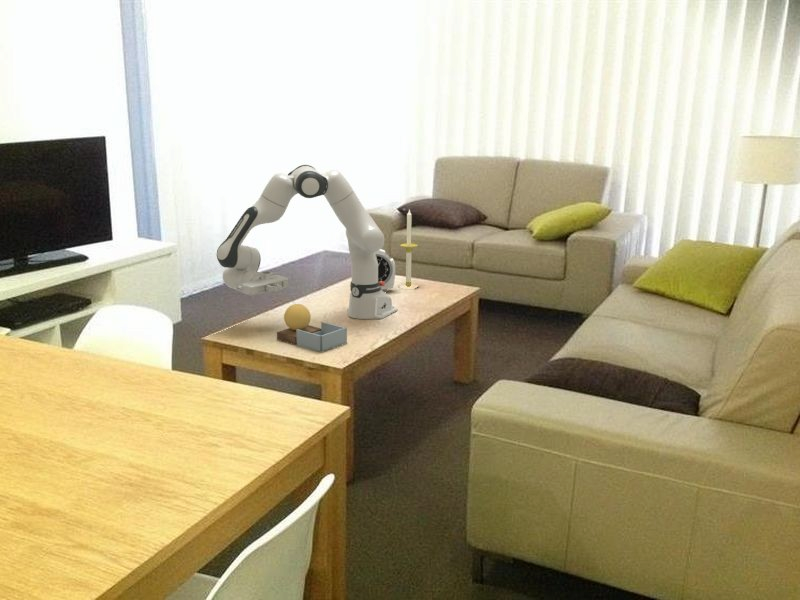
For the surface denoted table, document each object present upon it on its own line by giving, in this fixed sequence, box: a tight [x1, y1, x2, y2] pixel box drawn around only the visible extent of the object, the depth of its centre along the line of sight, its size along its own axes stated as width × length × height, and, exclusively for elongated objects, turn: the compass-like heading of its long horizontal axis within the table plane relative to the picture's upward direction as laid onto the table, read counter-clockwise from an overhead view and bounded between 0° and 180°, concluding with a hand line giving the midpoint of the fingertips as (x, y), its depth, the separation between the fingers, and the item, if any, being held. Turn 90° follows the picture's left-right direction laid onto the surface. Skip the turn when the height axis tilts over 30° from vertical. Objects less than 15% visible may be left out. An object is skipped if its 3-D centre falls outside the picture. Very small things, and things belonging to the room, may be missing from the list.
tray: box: [296, 321, 348, 353], centre depth 298 cm, size 14×13×6 cm
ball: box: [283, 303, 311, 330], centre depth 304 cm, size 10×10×10 cm
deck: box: [276, 324, 321, 346], centre depth 305 cm, size 14×10×3 cm
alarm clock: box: [375, 248, 396, 293], centre depth 373 cm, size 18×8×20 cm, turn 90°
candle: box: [399, 208, 419, 287], centre depth 380 cm, size 10×10×38 cm
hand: (279, 289), depth 307 cm, fingers closed
